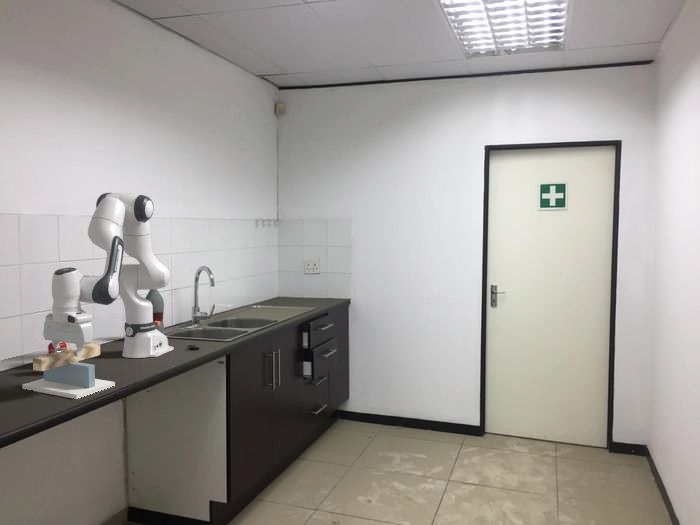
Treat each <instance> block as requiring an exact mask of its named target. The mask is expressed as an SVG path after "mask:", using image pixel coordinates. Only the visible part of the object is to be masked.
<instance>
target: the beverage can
mask: <svg viewBox="0 0 700 525" xmlns="http://www.w3.org/2000/svg"><path fill="white" fill-rule="evenodd" d="M59 345H60V348H62V350H66V349H67V344H66V343H65V342H60V343H59ZM54 352H55V348H54V347H53V345H52V341H51V340H49V344H48V345H47V354H50V353H54Z"/></svg>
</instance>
